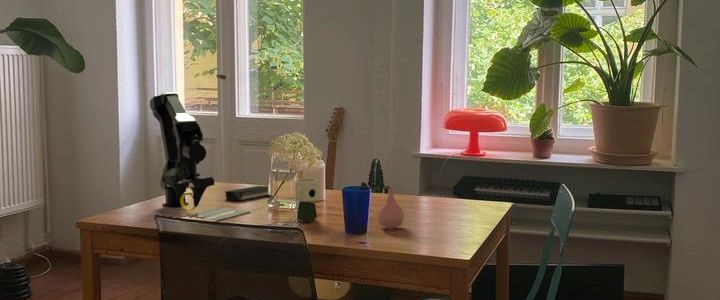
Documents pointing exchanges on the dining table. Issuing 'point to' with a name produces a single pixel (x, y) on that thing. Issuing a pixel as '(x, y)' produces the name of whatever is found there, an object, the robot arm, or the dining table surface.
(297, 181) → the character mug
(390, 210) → the pink teardrop shape
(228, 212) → the subfloor panel
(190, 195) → the watch
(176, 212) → the dining table surface
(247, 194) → the black sponge
